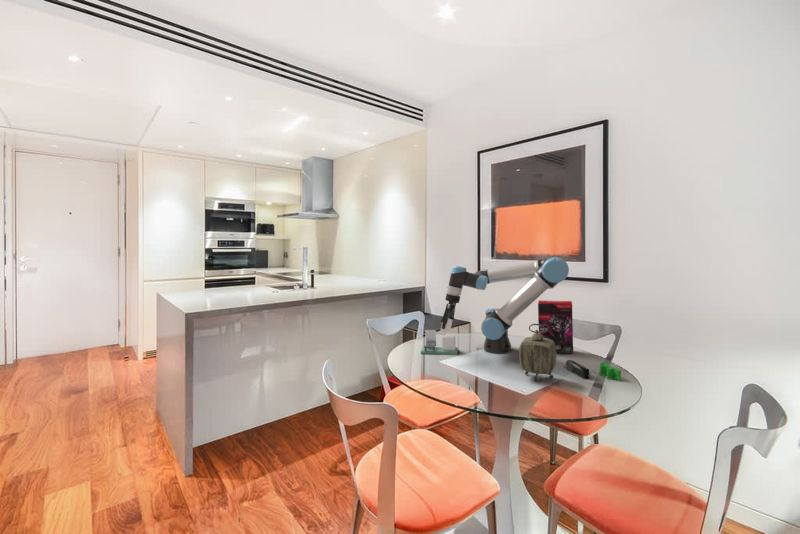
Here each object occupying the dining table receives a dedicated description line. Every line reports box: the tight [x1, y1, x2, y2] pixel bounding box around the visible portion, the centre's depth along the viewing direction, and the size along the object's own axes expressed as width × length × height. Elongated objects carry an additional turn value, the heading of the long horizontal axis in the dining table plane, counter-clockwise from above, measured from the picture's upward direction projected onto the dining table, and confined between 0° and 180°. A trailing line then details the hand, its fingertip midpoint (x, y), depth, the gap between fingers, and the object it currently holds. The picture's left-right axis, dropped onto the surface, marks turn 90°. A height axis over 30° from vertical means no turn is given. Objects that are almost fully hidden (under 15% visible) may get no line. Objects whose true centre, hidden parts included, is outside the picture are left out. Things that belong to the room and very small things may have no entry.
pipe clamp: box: [599, 361, 622, 382], centre depth 167 cm, size 11×4×5 cm, turn 10°
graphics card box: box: [537, 300, 574, 354], centre depth 203 cm, size 17×7×27 cm, turn 68°
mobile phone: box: [563, 359, 590, 380], centre depth 173 cm, size 5×3×15 cm
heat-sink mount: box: [420, 334, 459, 355], centre depth 213 cm, size 20×8×9 cm, turn 79°
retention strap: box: [424, 329, 437, 347], centre depth 215 cm, size 6×4×10 cm, turn 79°
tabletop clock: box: [518, 323, 557, 382], centre depth 167 cm, size 14×9×25 cm, turn 59°
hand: (445, 332), depth 205 cm, fingers open, 13 cm apart
